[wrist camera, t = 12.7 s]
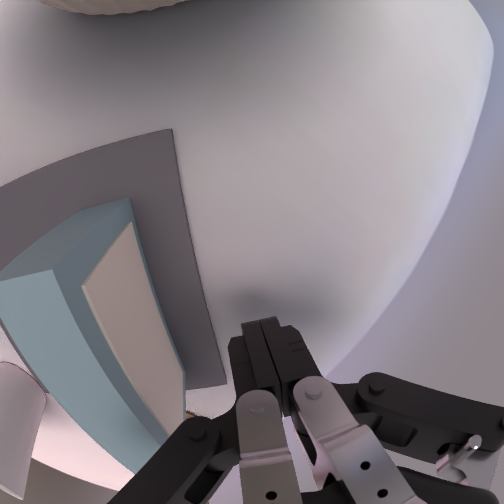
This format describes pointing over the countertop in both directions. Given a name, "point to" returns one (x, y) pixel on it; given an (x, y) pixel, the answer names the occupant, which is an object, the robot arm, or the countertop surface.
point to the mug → (18, 426)
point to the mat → (148, 225)
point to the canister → (108, 5)
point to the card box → (98, 331)
